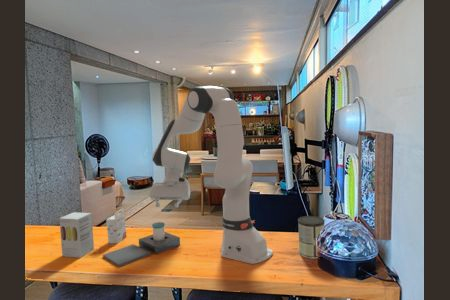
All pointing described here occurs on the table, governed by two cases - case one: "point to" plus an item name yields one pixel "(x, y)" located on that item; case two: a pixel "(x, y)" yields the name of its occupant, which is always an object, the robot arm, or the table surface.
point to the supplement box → (76, 234)
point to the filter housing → (159, 243)
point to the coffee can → (309, 235)
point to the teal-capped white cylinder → (158, 231)
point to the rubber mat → (126, 255)
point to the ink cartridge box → (116, 227)
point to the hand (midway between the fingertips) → (166, 206)
